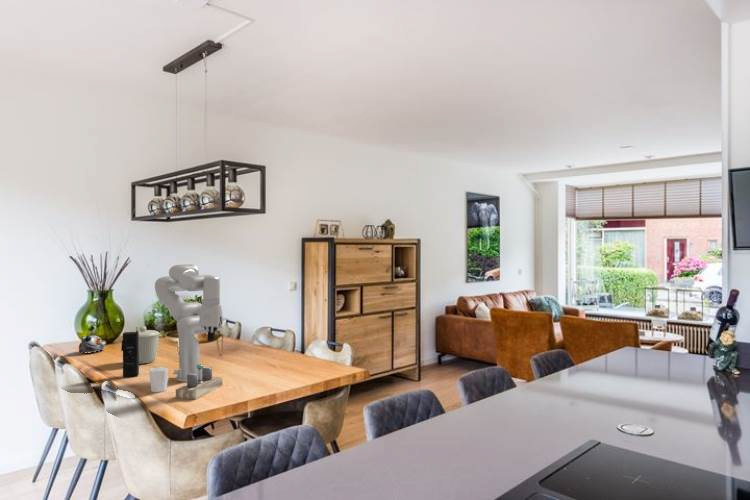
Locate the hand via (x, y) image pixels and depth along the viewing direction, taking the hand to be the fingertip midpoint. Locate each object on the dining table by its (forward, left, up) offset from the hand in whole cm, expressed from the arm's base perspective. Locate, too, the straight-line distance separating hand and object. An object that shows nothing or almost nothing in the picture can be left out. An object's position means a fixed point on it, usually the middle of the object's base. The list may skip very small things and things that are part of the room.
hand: (211, 340), depth 232 cm
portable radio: (-53, +9, -22) cm, 58 cm away
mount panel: (-1, -9, -22) cm, 24 cm away
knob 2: (-1, -3, -22) cm, 22 cm away
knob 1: (-1, -15, -22) cm, 26 cm away
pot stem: (-1, -9, -18) cm, 20 cm away
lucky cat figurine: (-118, +55, -22) cm, 132 cm away
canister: (-67, +37, -22) cm, 80 cm away
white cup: (-21, -11, -22) cm, 32 cm away
